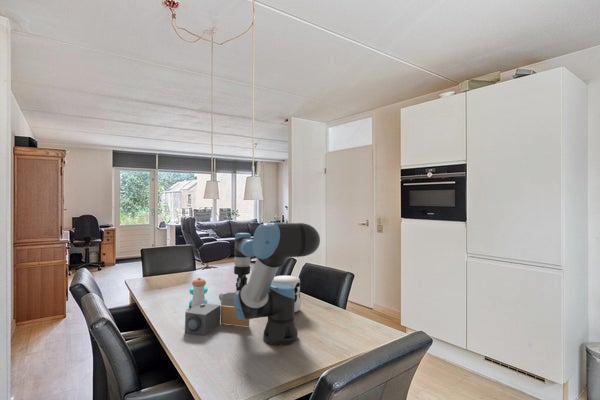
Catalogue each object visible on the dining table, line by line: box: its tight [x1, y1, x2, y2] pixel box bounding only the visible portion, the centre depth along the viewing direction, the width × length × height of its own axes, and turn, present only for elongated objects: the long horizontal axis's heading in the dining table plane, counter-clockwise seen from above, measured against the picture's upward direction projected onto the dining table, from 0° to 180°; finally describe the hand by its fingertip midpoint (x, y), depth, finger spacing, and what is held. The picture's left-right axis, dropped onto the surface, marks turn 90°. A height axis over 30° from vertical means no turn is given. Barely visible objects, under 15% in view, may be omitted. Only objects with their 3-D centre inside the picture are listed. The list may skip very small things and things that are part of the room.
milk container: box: [271, 275, 302, 314], centre depth 173 cm, size 17×17×18 cm
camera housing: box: [184, 303, 221, 336], centre depth 146 cm, size 10×16×10 cm, turn 166°
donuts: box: [188, 286, 208, 308], centre depth 179 cm, size 10×10×10 cm
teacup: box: [218, 291, 235, 307], centre depth 175 cm, size 14×11×8 cm
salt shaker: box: [190, 277, 207, 310], centre depth 165 cm, size 7×7×19 cm
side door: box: [220, 305, 250, 328], centre depth 151 cm, size 1×15×8 cm, turn 77°
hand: (240, 315), depth 149 cm, fingers closed
